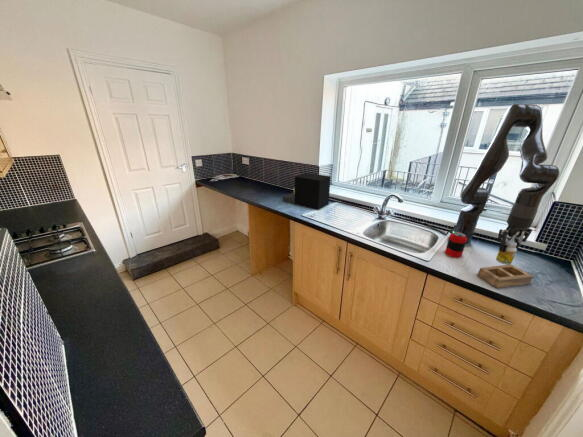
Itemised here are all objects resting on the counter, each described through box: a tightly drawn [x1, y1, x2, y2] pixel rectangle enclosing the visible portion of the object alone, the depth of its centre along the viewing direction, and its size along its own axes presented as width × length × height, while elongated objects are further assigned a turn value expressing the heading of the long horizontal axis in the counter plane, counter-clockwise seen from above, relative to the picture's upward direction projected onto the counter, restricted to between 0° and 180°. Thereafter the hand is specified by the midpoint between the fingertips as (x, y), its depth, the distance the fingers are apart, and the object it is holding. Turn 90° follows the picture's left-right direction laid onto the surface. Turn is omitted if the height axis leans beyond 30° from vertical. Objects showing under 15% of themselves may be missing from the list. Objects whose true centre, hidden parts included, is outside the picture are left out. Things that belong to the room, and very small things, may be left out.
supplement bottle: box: [495, 239, 518, 265], centre depth 104 cm, size 5×5×10 cm
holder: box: [477, 263, 534, 289], centre depth 110 cm, size 10×17×4 cm, turn 100°
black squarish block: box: [282, 172, 332, 211], centre depth 202 cm, size 18×35×24 cm, turn 55°
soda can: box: [444, 232, 467, 259], centre depth 128 cm, size 8×8×12 cm
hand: (507, 250), depth 104 cm, fingers closed on supplement bottle, 5 cm apart
